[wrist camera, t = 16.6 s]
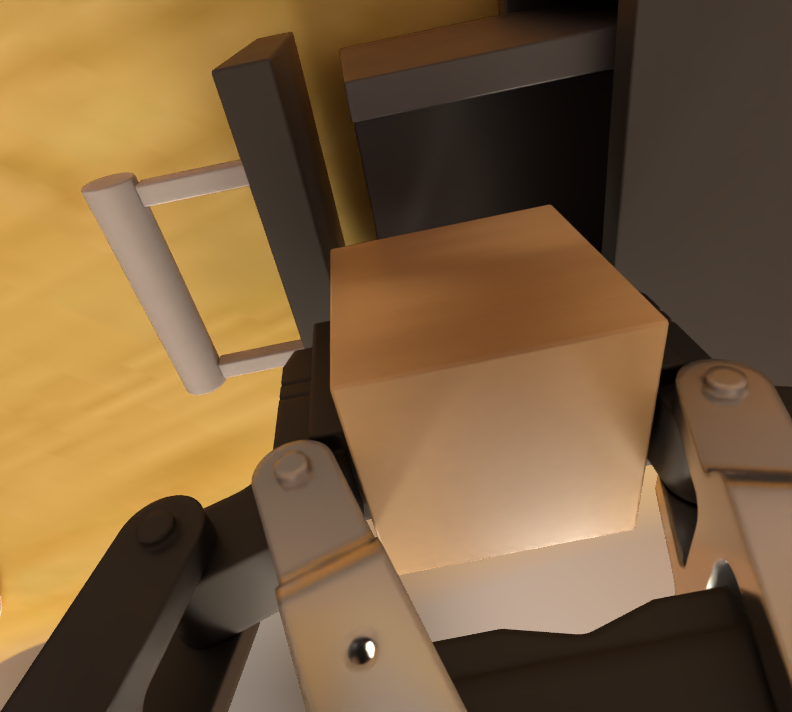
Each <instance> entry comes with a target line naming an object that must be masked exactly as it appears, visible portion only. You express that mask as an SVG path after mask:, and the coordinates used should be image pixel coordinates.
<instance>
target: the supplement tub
mask: <svg viewBox="0 0 792 712" xmlns="http://www.w3.org/2000/svg"><path fill="white" fill-rule="evenodd" d="M1 612H2V599H1V595H0V615H1Z"/></svg>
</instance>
